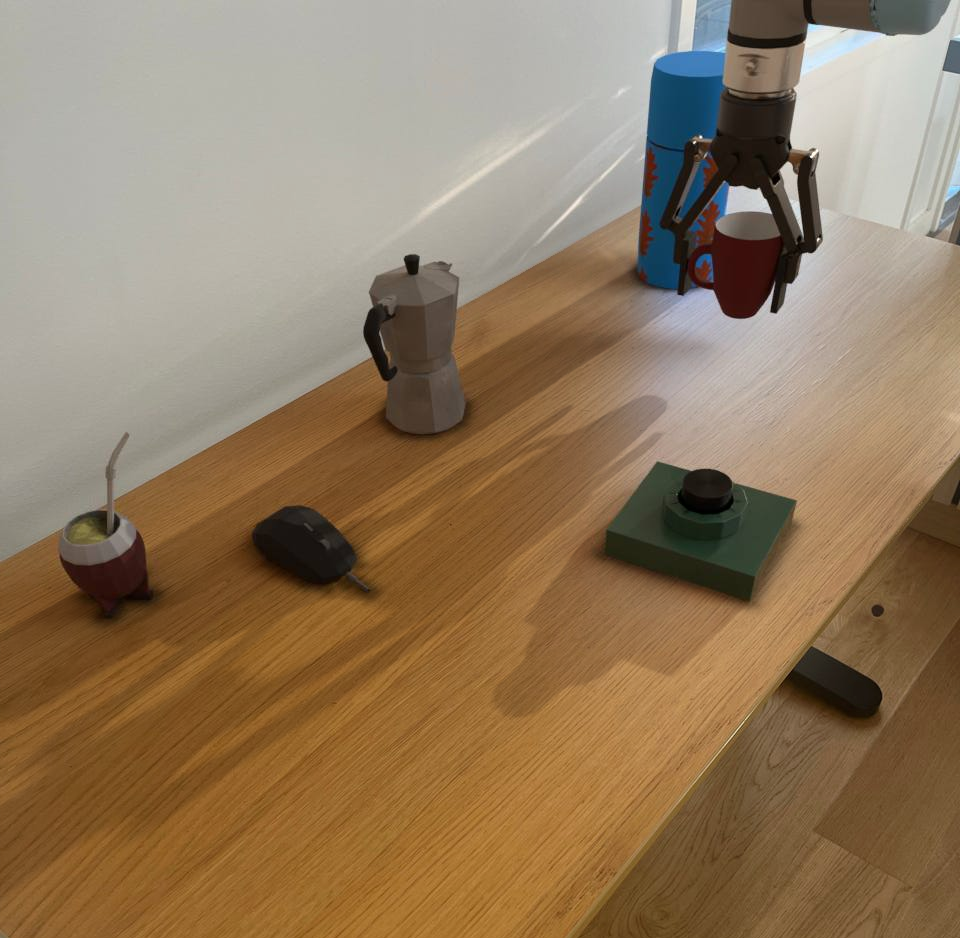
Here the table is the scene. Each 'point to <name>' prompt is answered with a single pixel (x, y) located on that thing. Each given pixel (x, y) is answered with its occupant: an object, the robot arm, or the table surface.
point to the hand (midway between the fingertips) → (729, 299)
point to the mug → (741, 262)
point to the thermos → (679, 159)
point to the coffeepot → (417, 345)
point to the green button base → (700, 533)
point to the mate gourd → (106, 551)
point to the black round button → (706, 491)
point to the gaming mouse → (306, 545)
